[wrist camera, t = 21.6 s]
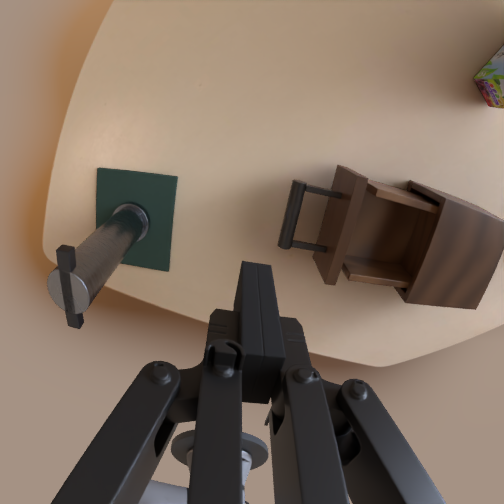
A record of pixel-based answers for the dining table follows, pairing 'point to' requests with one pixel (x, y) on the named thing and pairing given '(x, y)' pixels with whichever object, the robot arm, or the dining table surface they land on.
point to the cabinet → (455, 253)
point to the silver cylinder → (95, 260)
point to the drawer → (364, 229)
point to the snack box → (492, 80)
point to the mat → (152, 199)
